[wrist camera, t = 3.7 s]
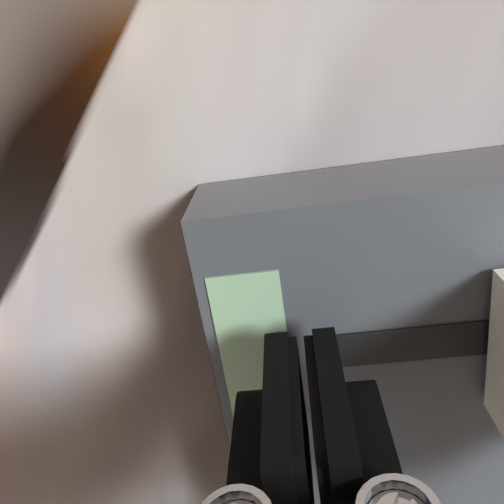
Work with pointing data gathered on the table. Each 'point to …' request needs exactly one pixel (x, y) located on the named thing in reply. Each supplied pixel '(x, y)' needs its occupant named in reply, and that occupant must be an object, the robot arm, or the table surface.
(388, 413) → the breaker panel
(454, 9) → the table surface
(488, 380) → the block
